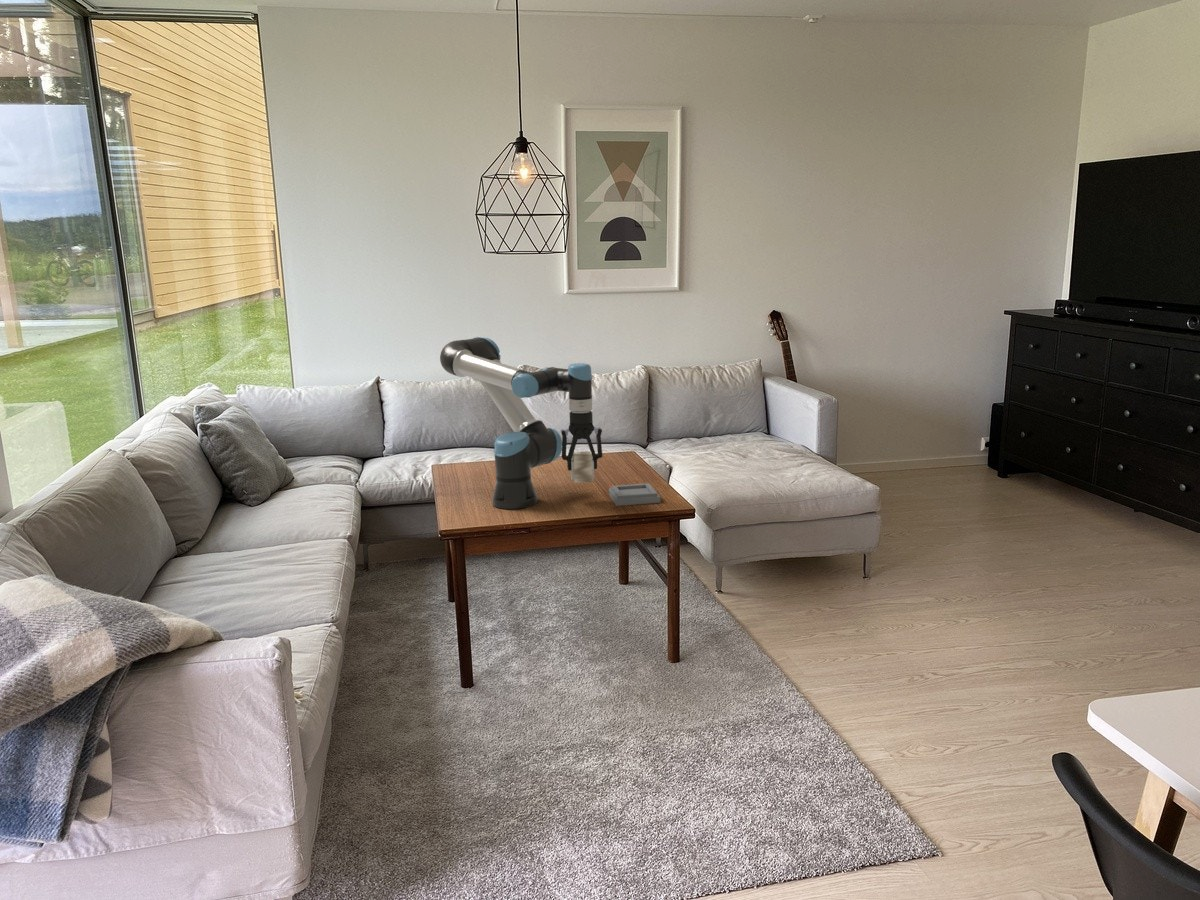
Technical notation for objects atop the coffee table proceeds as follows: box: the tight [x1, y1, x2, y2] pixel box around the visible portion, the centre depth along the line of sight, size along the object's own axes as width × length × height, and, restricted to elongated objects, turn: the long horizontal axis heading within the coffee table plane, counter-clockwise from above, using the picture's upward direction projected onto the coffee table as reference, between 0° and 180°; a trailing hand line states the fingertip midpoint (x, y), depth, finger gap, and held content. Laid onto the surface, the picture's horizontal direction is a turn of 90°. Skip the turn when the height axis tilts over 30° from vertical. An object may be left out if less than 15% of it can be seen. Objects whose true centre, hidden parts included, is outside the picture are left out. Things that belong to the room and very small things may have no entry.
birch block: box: [572, 450, 594, 484], centre depth 291 cm, size 6×6×9 cm
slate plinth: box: [608, 483, 662, 507], centre depth 296 cm, size 15×15×3 cm
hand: (582, 478), depth 292 cm, fingers closed on birch block, 6 cm apart
